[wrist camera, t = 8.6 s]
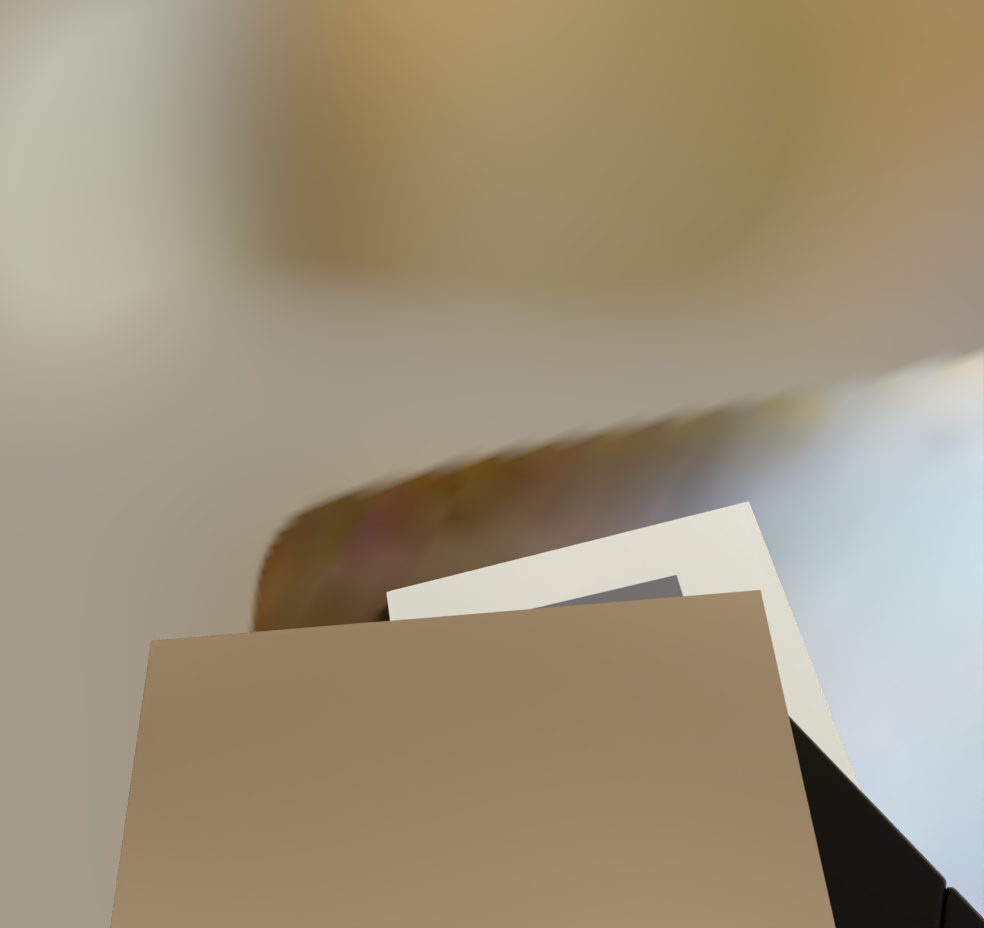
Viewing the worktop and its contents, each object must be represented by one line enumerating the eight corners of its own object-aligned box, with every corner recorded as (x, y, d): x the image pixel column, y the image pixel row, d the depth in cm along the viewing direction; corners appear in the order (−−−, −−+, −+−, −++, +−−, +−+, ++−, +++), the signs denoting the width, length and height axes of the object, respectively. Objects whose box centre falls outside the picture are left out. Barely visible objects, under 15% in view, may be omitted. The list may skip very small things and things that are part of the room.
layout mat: (742, 510, 16) (749, 500, 15) (879, 867, 13) (900, 885, 12) (399, 594, 18) (384, 591, 17) (444, 929, 15) (430, 949, 14)
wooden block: (683, 800, 12) (1055, 1919, 1) (532, 802, 13) (16, 1566, 2) (658, 640, 14) (759, 590, 3) (520, 649, 14) (150, 641, 3)
